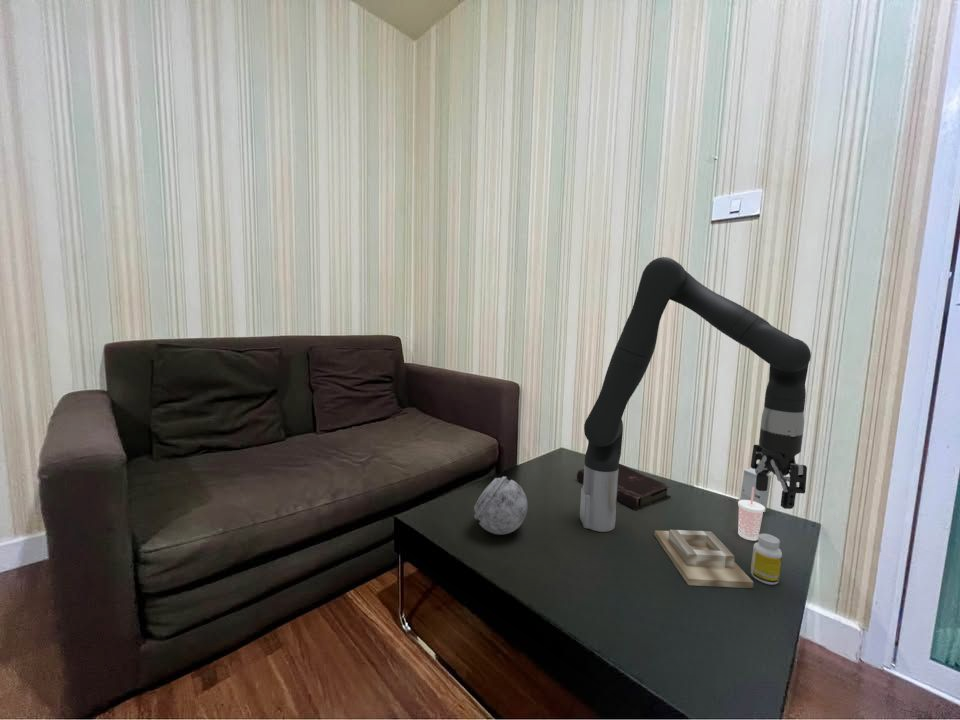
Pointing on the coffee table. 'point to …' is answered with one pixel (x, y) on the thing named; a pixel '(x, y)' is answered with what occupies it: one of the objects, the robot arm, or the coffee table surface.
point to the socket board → (704, 571)
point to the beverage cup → (750, 518)
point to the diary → (636, 488)
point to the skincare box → (750, 482)
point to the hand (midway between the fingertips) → (773, 498)
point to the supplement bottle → (766, 559)
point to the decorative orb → (501, 506)
